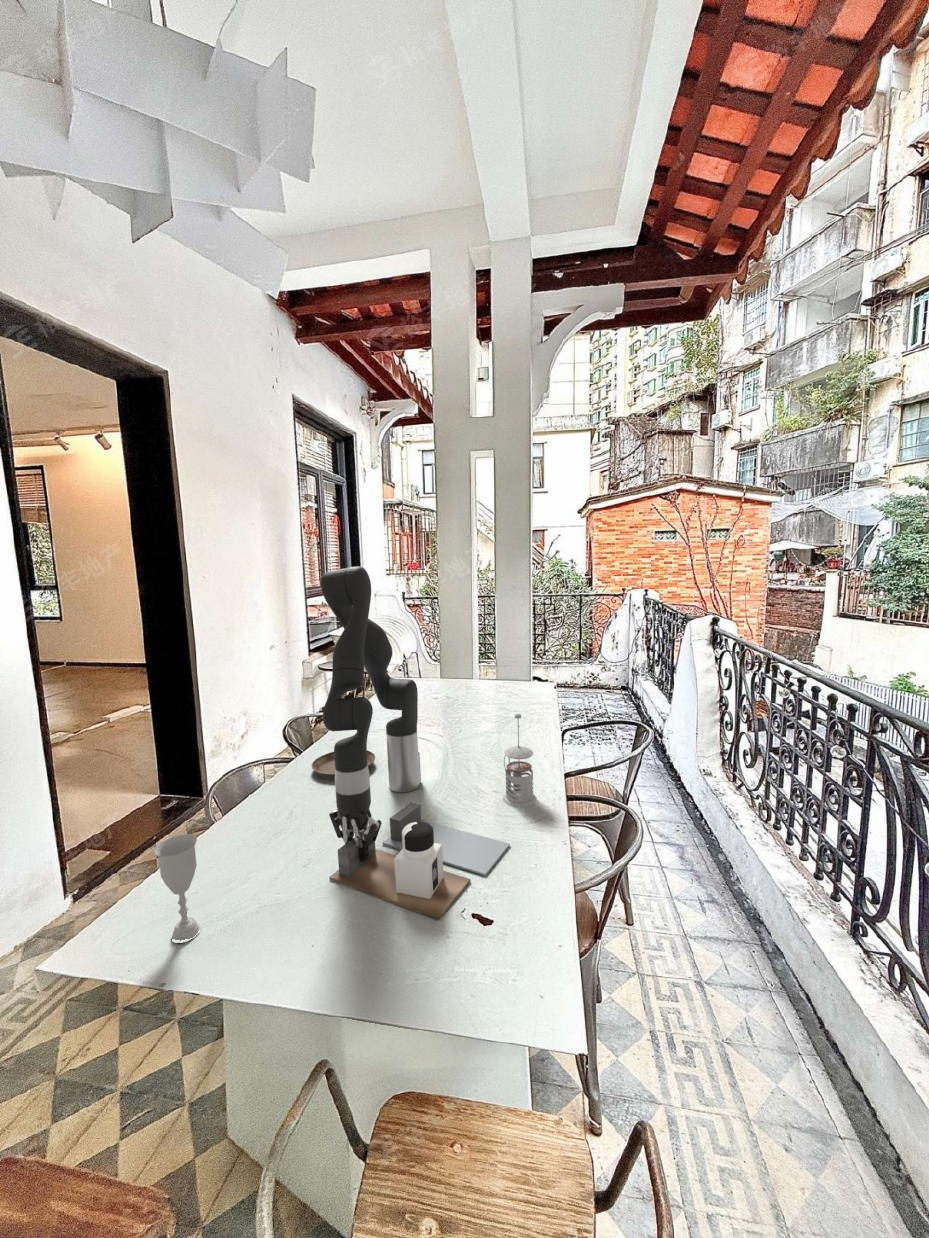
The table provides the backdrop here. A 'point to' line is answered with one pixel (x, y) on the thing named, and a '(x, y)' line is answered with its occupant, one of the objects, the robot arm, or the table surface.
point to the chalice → (179, 877)
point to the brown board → (392, 880)
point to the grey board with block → (450, 842)
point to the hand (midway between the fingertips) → (357, 857)
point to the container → (418, 861)
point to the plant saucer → (333, 764)
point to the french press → (519, 776)
